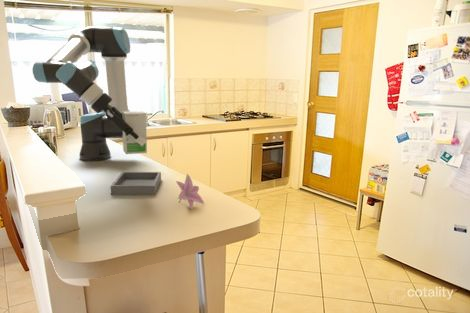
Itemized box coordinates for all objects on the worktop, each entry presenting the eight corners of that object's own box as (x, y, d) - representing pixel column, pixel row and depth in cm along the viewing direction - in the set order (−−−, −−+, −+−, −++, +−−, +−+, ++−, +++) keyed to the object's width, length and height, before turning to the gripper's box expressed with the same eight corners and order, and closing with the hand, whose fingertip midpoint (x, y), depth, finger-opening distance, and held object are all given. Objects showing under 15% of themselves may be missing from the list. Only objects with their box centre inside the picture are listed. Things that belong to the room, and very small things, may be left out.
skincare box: (125, 154, 128) (123, 113, 124) (123, 151, 133) (120, 111, 130) (148, 153, 131) (146, 112, 127) (144, 149, 137) (143, 110, 133)
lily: (172, 215, 112) (185, 193, 109) (161, 192, 120) (173, 171, 117) (201, 217, 120) (214, 197, 117) (188, 195, 128) (200, 176, 125)
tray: (122, 179, 144) (122, 171, 143) (161, 179, 145) (160, 172, 144) (111, 194, 126) (110, 185, 126) (154, 194, 128) (154, 185, 127)
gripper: (93, 103, 134) (138, 143, 142) (85, 109, 115) (137, 154, 123) (107, 90, 134) (150, 130, 142) (101, 93, 115) (151, 139, 123)
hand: (144, 141), depth 132 cm, fingers closed on skincare box, 7 cm apart
